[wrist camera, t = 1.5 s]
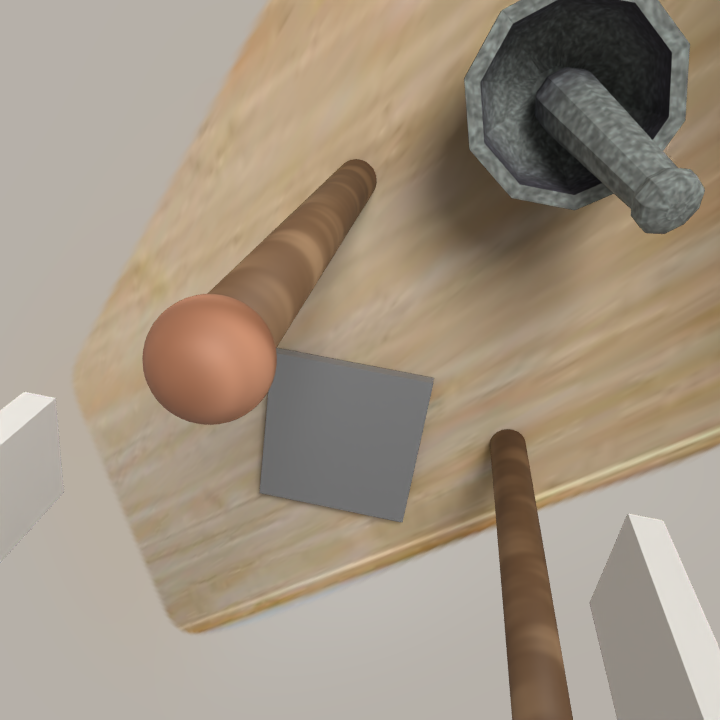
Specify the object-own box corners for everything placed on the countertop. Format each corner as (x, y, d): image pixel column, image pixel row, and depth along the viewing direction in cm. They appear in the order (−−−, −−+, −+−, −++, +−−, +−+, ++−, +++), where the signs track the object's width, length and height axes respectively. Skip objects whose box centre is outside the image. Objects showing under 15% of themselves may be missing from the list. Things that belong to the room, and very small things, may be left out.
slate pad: (433, 377, 43) (433, 383, 42) (403, 515, 48) (402, 522, 47) (274, 347, 43) (271, 352, 43) (262, 486, 49) (259, 492, 48)
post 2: (536, 429, 43) (629, 878, 20) (524, 467, 45) (598, 927, 21) (490, 420, 43) (527, 854, 20) (479, 458, 45) (503, 904, 21)
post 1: (387, 157, 37) (260, 339, 13) (378, 211, 38) (251, 462, 15) (333, 148, 37) (115, 311, 14) (327, 202, 38) (120, 435, 15)
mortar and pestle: (427, 86, 35) (413, 100, 24) (568, -58, 31) (626, -117, 21) (554, 234, 37) (593, 306, 27) (699, 117, 34) (811, 146, 23)
